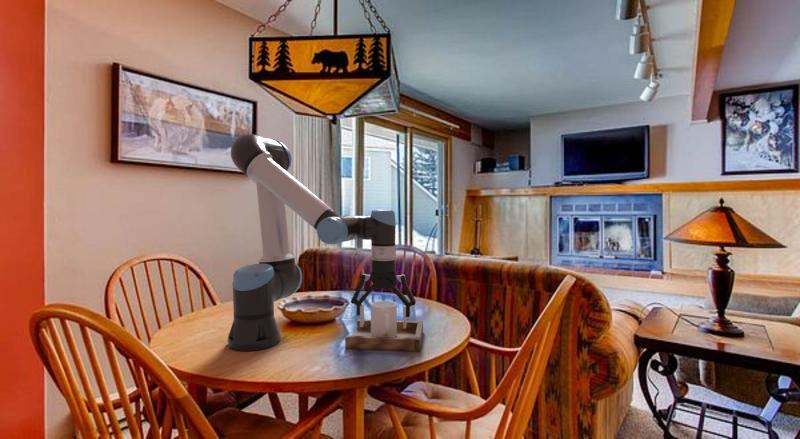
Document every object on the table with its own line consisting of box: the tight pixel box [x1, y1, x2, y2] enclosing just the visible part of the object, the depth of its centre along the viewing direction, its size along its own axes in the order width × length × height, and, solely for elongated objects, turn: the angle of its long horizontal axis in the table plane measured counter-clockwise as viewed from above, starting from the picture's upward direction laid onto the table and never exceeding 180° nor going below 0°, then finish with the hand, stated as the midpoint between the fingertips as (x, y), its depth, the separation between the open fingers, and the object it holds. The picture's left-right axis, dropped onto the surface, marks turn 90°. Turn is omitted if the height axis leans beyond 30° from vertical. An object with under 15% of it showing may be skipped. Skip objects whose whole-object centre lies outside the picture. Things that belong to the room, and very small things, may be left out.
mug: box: [370, 300, 398, 337], centre depth 125 cm, size 12×8×10 cm
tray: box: [344, 318, 424, 353], centre depth 126 cm, size 22×18×4 cm
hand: (383, 326), depth 126 cm, fingers open, 13 cm apart
